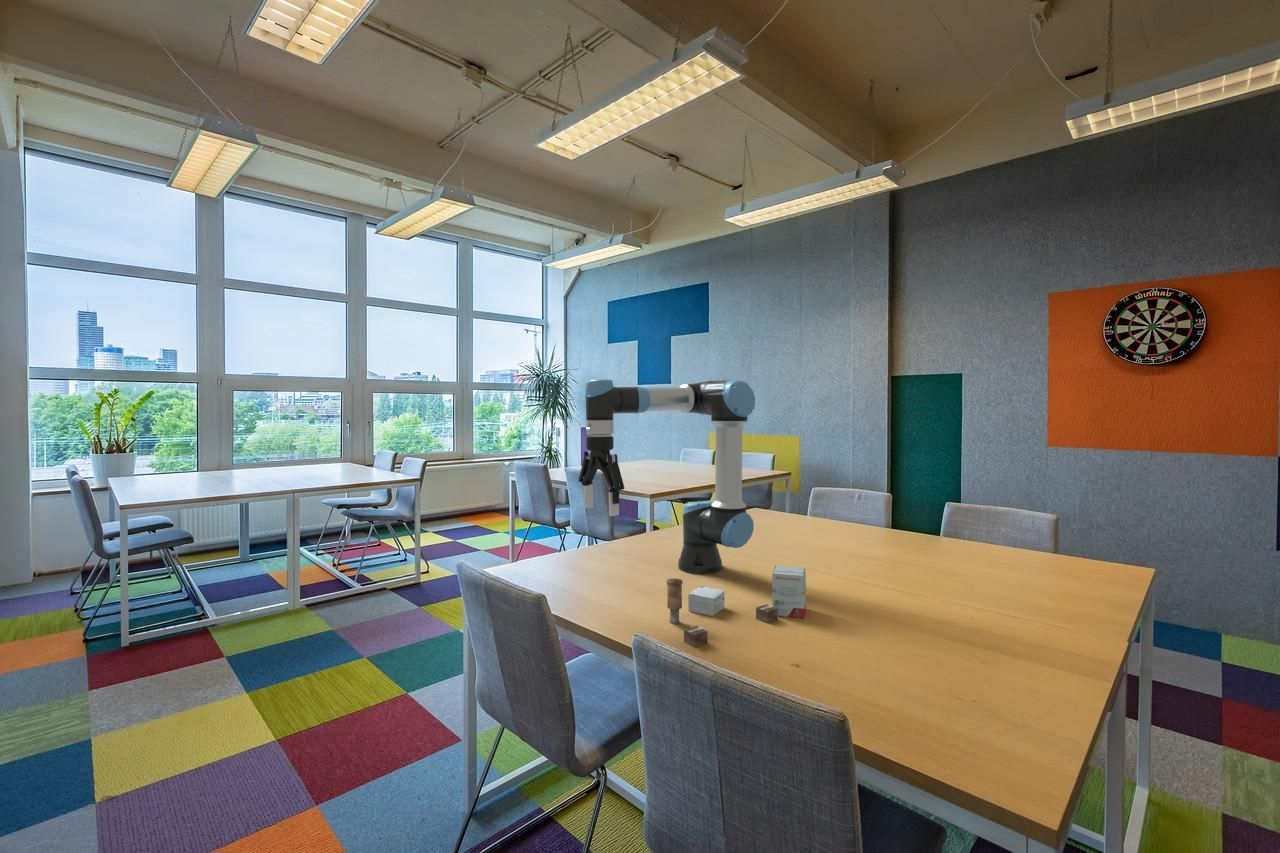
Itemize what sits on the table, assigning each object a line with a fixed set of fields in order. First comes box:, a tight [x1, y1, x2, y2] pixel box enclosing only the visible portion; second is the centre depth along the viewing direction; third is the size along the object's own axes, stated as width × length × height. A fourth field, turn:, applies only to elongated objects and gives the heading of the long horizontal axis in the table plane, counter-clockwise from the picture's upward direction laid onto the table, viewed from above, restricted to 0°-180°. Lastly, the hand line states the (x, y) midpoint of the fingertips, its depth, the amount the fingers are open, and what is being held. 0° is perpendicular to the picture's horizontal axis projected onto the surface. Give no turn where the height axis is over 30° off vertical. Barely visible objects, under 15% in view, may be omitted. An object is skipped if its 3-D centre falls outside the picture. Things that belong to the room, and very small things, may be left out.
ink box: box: [771, 564, 807, 619], centre depth 159 cm, size 9×9×12 cm
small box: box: [687, 586, 725, 617], centre depth 162 cm, size 8×8×5 cm
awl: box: [666, 577, 683, 625], centre depth 152 cm, size 4×4×11 cm
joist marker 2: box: [755, 604, 779, 624], centre depth 154 cm, size 4×4×3 cm
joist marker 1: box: [683, 625, 708, 648], centre depth 140 cm, size 4×4×3 cm
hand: (600, 511), depth 161 cm, fingers open, 13 cm apart
